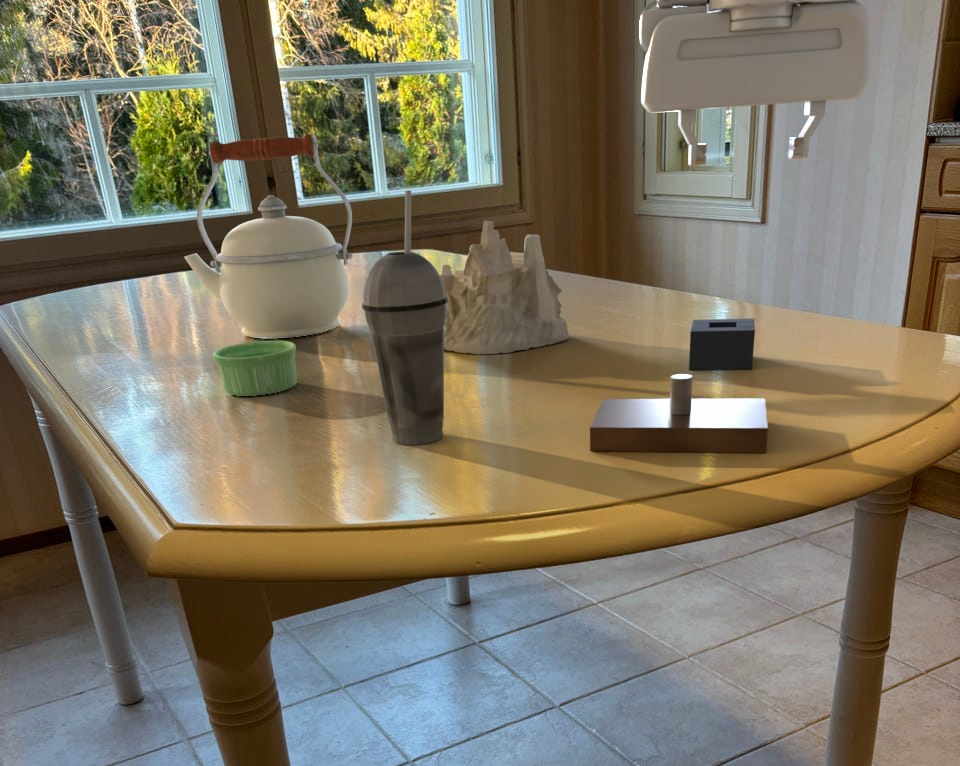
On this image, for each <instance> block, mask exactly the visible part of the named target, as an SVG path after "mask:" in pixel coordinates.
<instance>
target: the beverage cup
mask: <svg viewBox="0 0 960 766" xmlns="http://www.w3.org/2000/svg"><path fill="white" fill-rule="evenodd" d="M411 246H412V190H405V191H404V251H393V252H389V253H386V254H384V255H383V256H381V257H380V258H378V259H377V260H376V261H375V262H374V263H373V265H372V266H371V267H370V269H369V271H368V272H367V274H366V277H365V278H364V282H363V287H362V303H361V309H362V310H363V311H364V317H365V321H366V324H367V327H368V331H369V333H370V335H371V338H372V339H371V340H372V343H373V349H374V354H375V361H376V364H377V369H378V374H379V380H380V385H381V389H382V395H383V400H384V404H385V410H386V414H387V420H388V423H389V427H390V431H391V435H392V441H393V442H394V443H396V444H399V445H403V446H419V445H427V444H430V443H431V444H432V443H435V442H438V441H439V440H441V439H442V438H443V436H444V431H443V428H444V418H445V394H444V393H445V361H444V360H445V349H444V326H445V321H446V303H447V302H448V299H447V296H446V294H445V288H444V285H443V281H442V279H441V277H440V275H441V274H440V273H439V272H438V270H437V268H436V267H435V266H434V265H433V263H432V262H430V261H429V260H428V259H427V258H426V257H424V256H422V255H421V254H419V253H417V252H414V251H412V250H411V249H412V247H411Z"/></svg>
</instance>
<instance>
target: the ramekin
mask: <svg viewBox="0 0 960 766" xmlns="http://www.w3.org/2000/svg"><path fill="white" fill-rule="evenodd" d="M296 350H297V346H296V344H295V343H294V342H292V341H289V340H259V341H251V342H242V343H237V344H233V345H228V346H225V347H221V348H219V349H217V350H215V351H214V352H213V353H212V355H213V359H214V361H215V363H216V364H217V368H218V372H219V376H220V379H221V382H222V386H223V389H224V392H225V393H227V394H228V395H230V394H231V395H230V396H233V395H236V396H235V397H239V396H253V397H257V396H256V395H263V396H266V395H265V394H269V395H272V394H271V393H275V392H279V391H283V392H285V391H284V390H286V389H288V390H290V389H289V388H291V389H292V388H294V387H295V386H296V385H297V382H298V380H297V379H298V378H297V377H298V376H297V364H296ZM293 386H294V387H293ZM286 391H287V390H286ZM279 393H280V392H279ZM275 394H276V393H275Z"/></svg>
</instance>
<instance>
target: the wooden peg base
mask: <svg viewBox="0 0 960 766" xmlns="http://www.w3.org/2000/svg"><path fill="white" fill-rule="evenodd" d="M693 379H694V378H693V375H691V374H687V373H678V374H673V375H671V376H670V378H669V398H603V399H602V401H601V403H600V405H599V408H598V410H597V412H596V415H595V416H594V419H593V420H592V423H591V424H590V426H589V451H590V452H630V453H631V452H635V453H636V452H638V453H642V452H643V453H646V452H647V453H648V452H649V453H650V452H651V453H653V452H654V453H729V454H730V453H731V454H732V453H733V454H734V453H740V454H745V453H746V454H748V453H749V454H755V453H756V454H766V453H767V448H768V436H769V422H768V411H767V401H766V398H763V397H762V398H693Z"/></svg>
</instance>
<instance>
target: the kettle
mask: <svg viewBox="0 0 960 766" xmlns="http://www.w3.org/2000/svg"><path fill="white" fill-rule="evenodd" d="M207 146H208V155H209V156H210V162H211V170H212V175H211V178H210V181H209V183H208V185H207V187H206V189H205V190H204V192H203V195H202V197H201V199H200V202H199V204H198V207H197V211H196V222H197V227H198V230H199V232H200V236H201V237H202V240H203V242H204V243H205V246H206V247H207V250H208V251H209V252H210V254H211V256H212V257H213V260H212V261H210V263H209V265H210V266H209V265H208V264H207V263H206V262H205V261H204V260H203V259H202V258H201V257H200V255H199V254H198V253H192V254H189V255H185V256H183V258H184V259H185V261H186V262H187V264H188V265H189V267H190V268H191V269H192V271H193V272H194V273H195V275H196V276H197V277H198V279H199V280H200V281H201V283H202V284H203V286H205V288H206V289H207V290H208V291H209V292H210V293H211V294H212V295H213V296H214V297H215V298H216V299H218V300H219V301H220V302H222V304H223V306H224V308H225V310H226V312H227V313H228V315H229V316H230V317H231V318H232V319H233V320H234V321H235V322H236V323H237V324H239V325H240V326H241V327H243V328H242V330H241V332H242V335H244V336H245V335H247V336H252V337H268V338H270V337H272V338H275V337H276V338H277V337H296V336H304V335H311V334H317V333H321V332H325V331H328V330H331V331H333V330H335V329H337V328H338V327H339V326H340V319H339V318H338V317H339V316H340V315H341V313H342V312H343V310H344V308H345V307H346V305H347V304H348V301H349V296H350V291H351V290H350V289H351V287H350V280H349V276H348V273H347V270H346V267H345V266H348V265H349V260H352V259H353V254H352V253H351V252H348V250H347V249H348V244H349V240H350V235H351V231H352V225H353V212H352V206H351V204H350V201H349V200H348V198H347V196H346V195H345V194H344V191H342V190H341V188H340V187H339V186H338V185H337V184H336V183H335V181H334V180H332V178H331V177H330V176H329V175H328V174H327V173H326V172H325V170H324V169H323V166H322V164H321V162H320V161H321V160H320V157H319V151H318V148H319V142H318V141H317V136H316V135H315V134H314V135H313V134H311V133H307V134H305V135H303V137H290V136H274V137H271V138H270V137H264V138H263V137H261V138H260V137H259V138H254V139H251V138H250V139H249V138H247V139H240V140H235V141H230V142H227V143H222V142H220V141H218V140H215V141H212V142H210V143H209V142H208V144H207ZM301 155H305V156H306V157H309V158H313V159H314V163H315V167H316V169H317V171H318V172H319V173H320V175H321V176H322V177H323V178H324V180H326V181H327V183H328V184H329V185H330V186H331V187H332V188H333V190H334V191H335V192H336V193H337V195H338V196H339V197H340V199H341V200H342V202H343V203H344V205H345V208H346V214H347V224H346V225H347V226H346V232H345V237H344V240H343V244H341V243H339V242H336V240H335V238H334V236H333V234H332V233H331V231H330V230H329V229H328V228H327V227H326V226H325V225H324V224H322V223H320V222H318V221H316V220H314V219H311V218H307V217H304V216H295V215H286V209H288V206H287V204H285V202H284V201H283V200H282V199H280V198H279V197H276V196H275V195H274V194H273V195H267V196H266V197H265V198H263V200H262V201H261V202H260V203H259V206H258V207H257V210H258V211H259V212H261V216H262V217H261V218H256V219H252V220H248V221H244V222H243V223H241V224H238V225H237V226H236V227H234V228H232V229H231V230H230V231H229V232H228V233H227V234H226V235H225V237H224V239H223V241H222V244H221V250H220V253H218V251H216V249H215V247H214V245H213V243H212V242H211V240H210V238H209V236H208V234H207V231H206V229H205V226H204V220H203V212H204V208H205V205H206V203H207V200H208V199H209V196H210V194H211V192H212V190H213V188H214V186H215V184H216V182H217V180H218V175H219V166H218V164H222V163H224V162H225V161H240V162H249V161H250V162H251V161H256V160H257V161H262V160H263V161H265V160H272V159H286V158H292V157H296V156H301ZM340 251H342V253H339V252H340ZM213 268H215V270H214V269H213ZM336 327H337V328H336ZM334 328H335V329H334ZM332 329H333V330H332ZM328 332H329V331H328ZM325 333H326V332H325ZM321 334H322V333H321ZM317 335H318V334H317Z"/></svg>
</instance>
